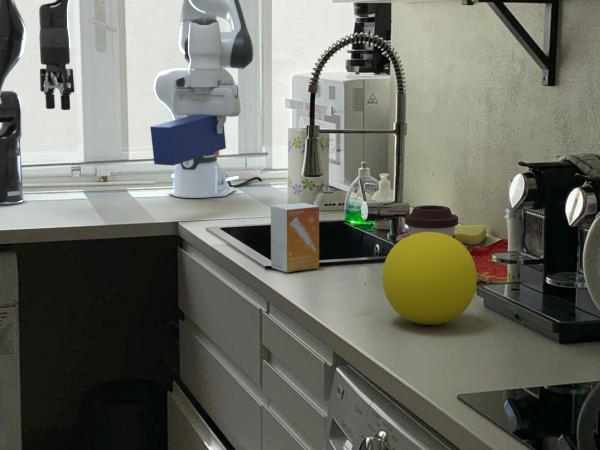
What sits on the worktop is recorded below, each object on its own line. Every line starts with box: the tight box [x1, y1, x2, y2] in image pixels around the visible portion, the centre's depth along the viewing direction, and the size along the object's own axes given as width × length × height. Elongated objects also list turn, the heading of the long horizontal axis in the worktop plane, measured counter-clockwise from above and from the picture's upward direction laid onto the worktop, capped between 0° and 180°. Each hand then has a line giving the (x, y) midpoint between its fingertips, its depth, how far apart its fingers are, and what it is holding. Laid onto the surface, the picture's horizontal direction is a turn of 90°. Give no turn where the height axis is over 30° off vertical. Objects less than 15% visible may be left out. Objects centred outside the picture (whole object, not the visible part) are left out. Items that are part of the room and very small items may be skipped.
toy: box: [381, 232, 478, 326], centre depth 170 cm, size 15×15×15 cm
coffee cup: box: [404, 204, 459, 239], centre depth 197 cm, size 10×10×15 cm
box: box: [149, 115, 227, 166], centre depth 272 cm, size 22×6×10 cm, turn 147°
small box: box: [270, 202, 320, 273], centre depth 214 cm, size 8×6×13 cm
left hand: (58, 109), depth 270 cm, fingers open, 8 cm apart
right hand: (206, 133), depth 278 cm, fingers closed on box, 6 cm apart
